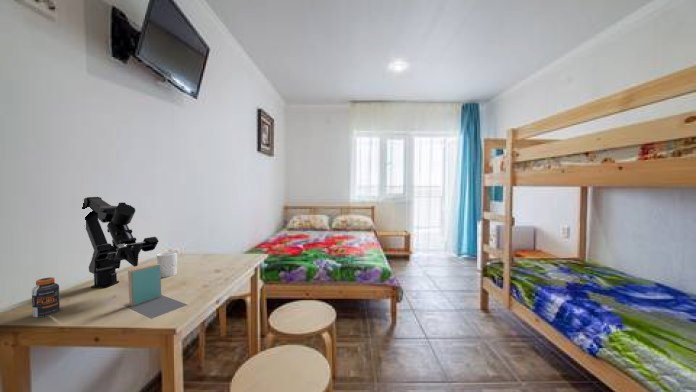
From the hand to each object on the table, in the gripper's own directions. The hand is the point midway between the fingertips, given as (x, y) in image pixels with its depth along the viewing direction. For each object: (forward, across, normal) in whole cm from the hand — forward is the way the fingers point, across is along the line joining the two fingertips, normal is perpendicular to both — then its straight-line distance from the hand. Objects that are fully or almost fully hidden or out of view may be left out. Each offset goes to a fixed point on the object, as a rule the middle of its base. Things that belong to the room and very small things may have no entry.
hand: (136, 265), depth 99 cm
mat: (+18, 0, 0) cm, 18 cm away
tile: (+13, 0, -4) cm, 13 cm away
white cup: (-4, -20, -21) cm, 29 cm away
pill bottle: (0, +20, -17) cm, 26 cm away
